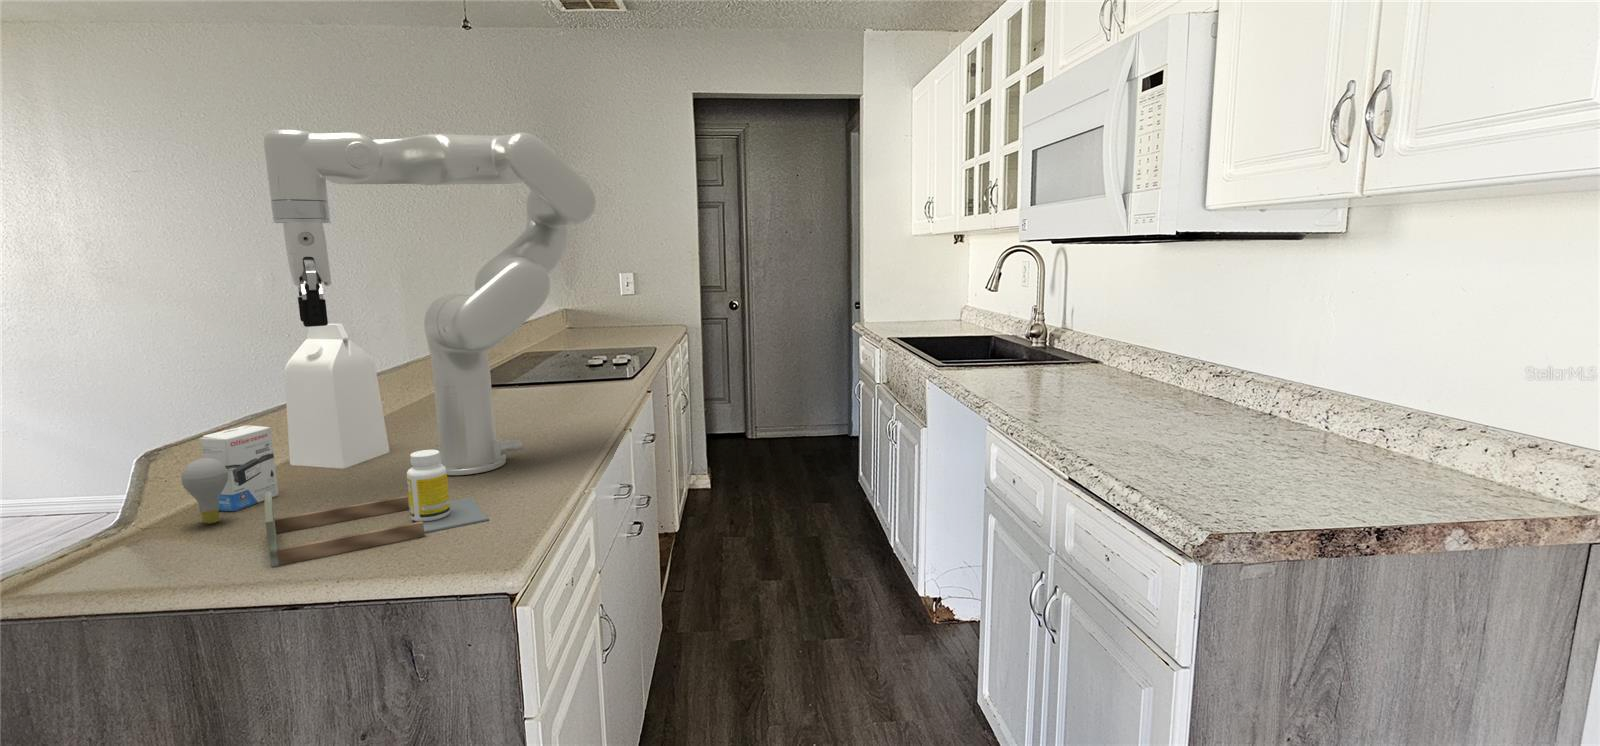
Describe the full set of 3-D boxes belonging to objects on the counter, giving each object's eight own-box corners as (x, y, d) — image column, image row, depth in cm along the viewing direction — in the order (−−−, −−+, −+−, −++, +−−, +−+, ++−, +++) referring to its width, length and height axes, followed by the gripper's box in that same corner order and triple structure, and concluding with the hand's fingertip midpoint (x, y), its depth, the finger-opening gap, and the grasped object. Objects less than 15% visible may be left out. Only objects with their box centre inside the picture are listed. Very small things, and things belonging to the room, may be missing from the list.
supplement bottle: (458, 512, 119) (453, 449, 118) (431, 524, 114) (425, 459, 113) (430, 508, 121) (424, 446, 119) (402, 520, 116) (395, 456, 114)
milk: (389, 452, 156) (376, 321, 151) (344, 468, 145) (328, 327, 140) (338, 449, 158) (324, 320, 154) (290, 465, 147) (272, 326, 143)
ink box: (234, 512, 121) (224, 438, 119) (207, 510, 122) (197, 437, 120) (280, 495, 130) (271, 425, 128) (255, 493, 131) (246, 424, 129)
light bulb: (205, 532, 113) (195, 465, 111) (179, 528, 115) (169, 461, 113) (243, 519, 118) (234, 455, 116) (218, 515, 120) (209, 452, 118)
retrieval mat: (471, 499, 126) (470, 497, 126) (489, 520, 117) (489, 518, 117) (409, 510, 121) (409, 508, 121) (423, 533, 112) (422, 531, 112)
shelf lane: (408, 508, 122) (404, 470, 121) (424, 536, 110) (420, 495, 109) (269, 533, 112) (264, 492, 111) (271, 567, 100) (265, 522, 99)
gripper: (333, 211, 117) (346, 326, 120) (325, 215, 131) (336, 317, 134) (273, 211, 113) (287, 330, 115) (271, 215, 127) (284, 320, 130)
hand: (314, 323), depth 125 cm, fingers open, 9 cm apart
